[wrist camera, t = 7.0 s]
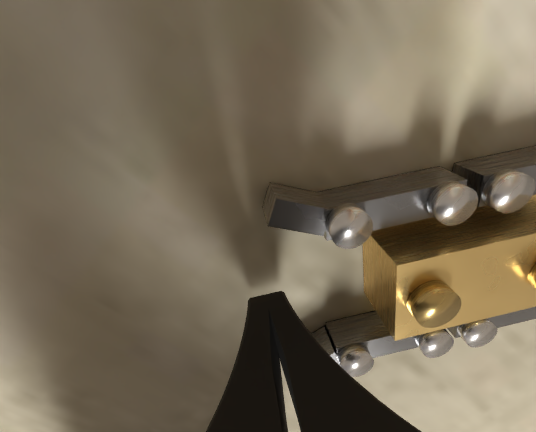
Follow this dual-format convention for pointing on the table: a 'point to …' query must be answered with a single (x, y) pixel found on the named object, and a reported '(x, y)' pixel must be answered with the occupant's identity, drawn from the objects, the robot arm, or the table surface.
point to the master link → (451, 270)
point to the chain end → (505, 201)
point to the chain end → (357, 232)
